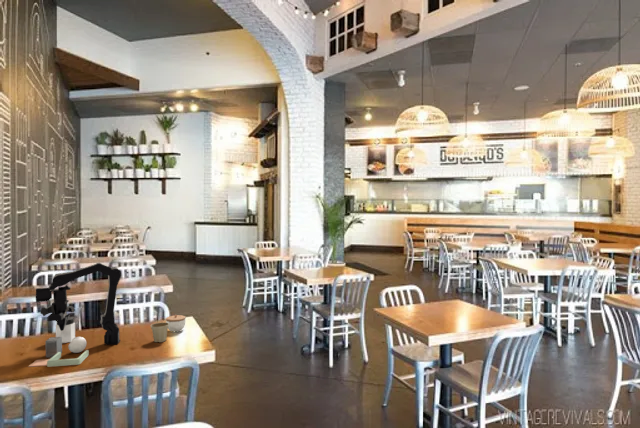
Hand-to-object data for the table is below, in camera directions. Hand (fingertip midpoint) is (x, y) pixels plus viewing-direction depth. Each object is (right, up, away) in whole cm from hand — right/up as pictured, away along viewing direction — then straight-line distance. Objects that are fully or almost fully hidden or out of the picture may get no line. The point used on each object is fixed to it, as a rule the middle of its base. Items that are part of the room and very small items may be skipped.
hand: (62, 330), depth 221 cm
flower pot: (+43, -10, +15) cm, 47 cm away
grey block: (0, -10, -6) cm, 12 cm away
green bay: (+11, -10, -14) cm, 21 cm away
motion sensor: (+9, -11, -2) cm, 14 cm away
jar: (-8, -10, +17) cm, 21 cm away
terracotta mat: (+1, -11, -17) cm, 20 cm away
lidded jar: (+46, -10, +34) cm, 58 cm away
